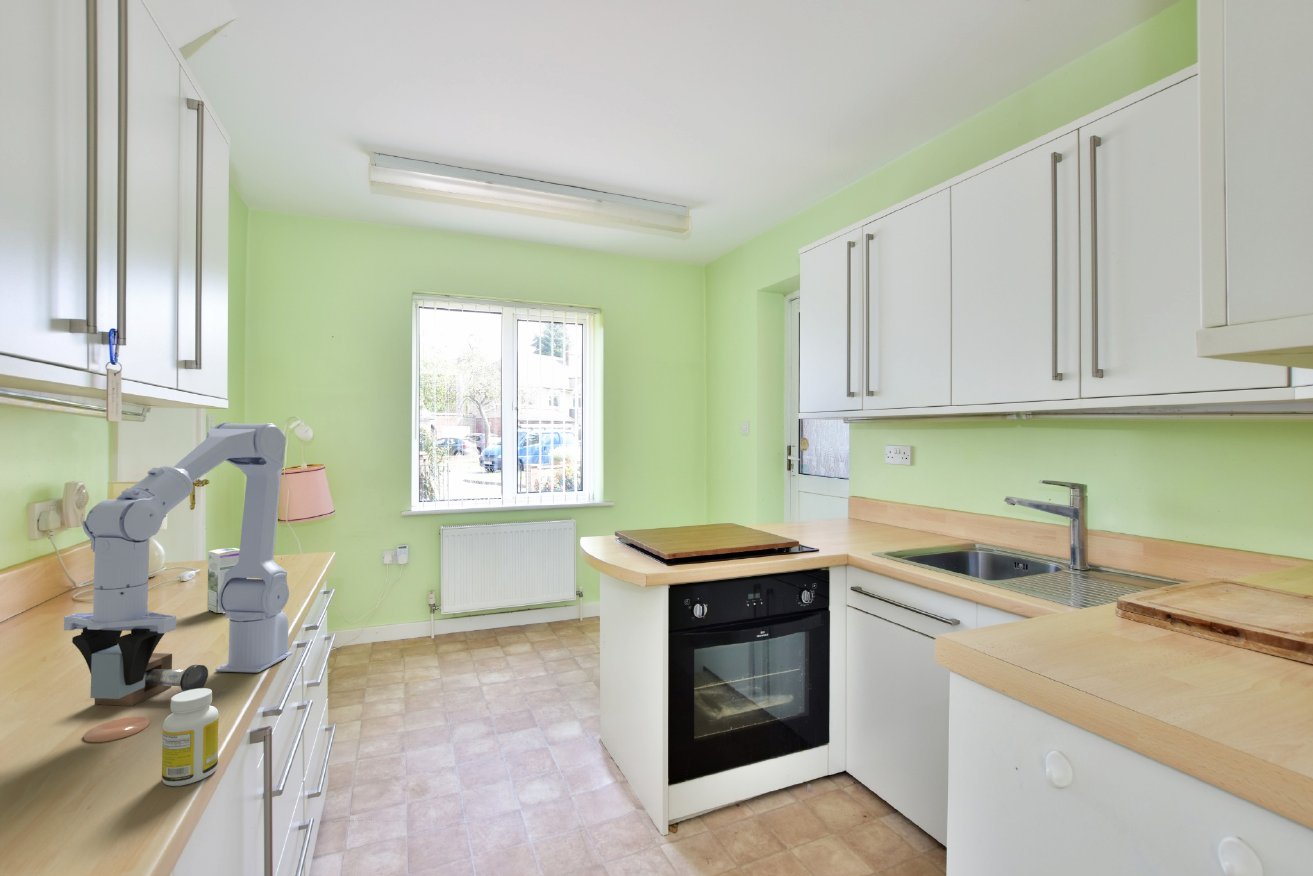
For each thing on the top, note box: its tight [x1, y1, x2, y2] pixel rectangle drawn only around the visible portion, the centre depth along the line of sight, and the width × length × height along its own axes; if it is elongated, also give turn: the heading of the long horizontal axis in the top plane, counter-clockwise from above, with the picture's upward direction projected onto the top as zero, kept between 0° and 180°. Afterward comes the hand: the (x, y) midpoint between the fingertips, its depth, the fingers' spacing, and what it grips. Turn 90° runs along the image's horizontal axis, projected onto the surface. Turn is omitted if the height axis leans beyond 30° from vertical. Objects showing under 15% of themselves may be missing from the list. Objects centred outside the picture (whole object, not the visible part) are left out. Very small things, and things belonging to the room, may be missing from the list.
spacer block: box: [89, 645, 145, 699], centre depth 83 cm, size 4×4×6 cm
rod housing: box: [94, 652, 173, 707], centre depth 94 cm, size 7×6×6 cm
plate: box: [83, 716, 150, 743], centre depth 83 cm, size 7×7×1 cm
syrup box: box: [207, 547, 240, 614], centre depth 142 cm, size 6×6×14 cm
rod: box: [145, 664, 209, 692], centre depth 94 cm, size 4×8×4 cm, turn 88°
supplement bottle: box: [161, 687, 220, 787], centre depth 73 cm, size 5×5×10 cm
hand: (118, 682), depth 83 cm, fingers closed on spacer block, 4 cm apart
